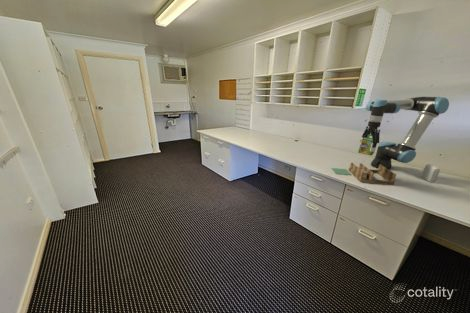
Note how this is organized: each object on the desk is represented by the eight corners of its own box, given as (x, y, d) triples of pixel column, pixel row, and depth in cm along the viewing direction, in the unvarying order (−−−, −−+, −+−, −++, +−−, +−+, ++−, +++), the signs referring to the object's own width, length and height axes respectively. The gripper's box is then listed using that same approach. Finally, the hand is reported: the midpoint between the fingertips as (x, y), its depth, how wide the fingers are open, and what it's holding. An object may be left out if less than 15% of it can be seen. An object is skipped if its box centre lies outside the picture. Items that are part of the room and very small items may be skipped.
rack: (348, 170, 160) (350, 162, 157) (377, 172, 157) (380, 164, 154) (360, 182, 140) (362, 172, 137) (393, 184, 136) (397, 175, 134)
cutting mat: (331, 168, 164) (331, 168, 164) (345, 169, 162) (345, 169, 162) (336, 174, 153) (336, 173, 153) (351, 175, 151) (351, 174, 151)
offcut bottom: (357, 176, 150) (358, 172, 149) (361, 176, 149) (362, 172, 148) (361, 180, 143) (362, 176, 142) (365, 180, 143) (366, 176, 142)
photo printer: (419, 176, 150) (425, 162, 146) (426, 177, 149) (431, 163, 145) (429, 182, 141) (435, 167, 137) (436, 183, 140) (442, 168, 136)
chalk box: (357, 152, 145) (362, 134, 140) (360, 150, 151) (365, 133, 146) (371, 155, 139) (377, 136, 134) (374, 153, 145) (379, 135, 140)
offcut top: (358, 172, 148) (359, 169, 147) (363, 173, 148) (363, 169, 147) (361, 175, 143) (362, 172, 142) (366, 176, 142) (367, 172, 141)
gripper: (361, 118, 148) (354, 144, 155) (379, 123, 125) (370, 153, 133) (371, 119, 147) (364, 144, 155) (391, 124, 125) (381, 154, 132)
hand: (367, 148), depth 144 cm, fingers closed on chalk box, 12 cm apart
